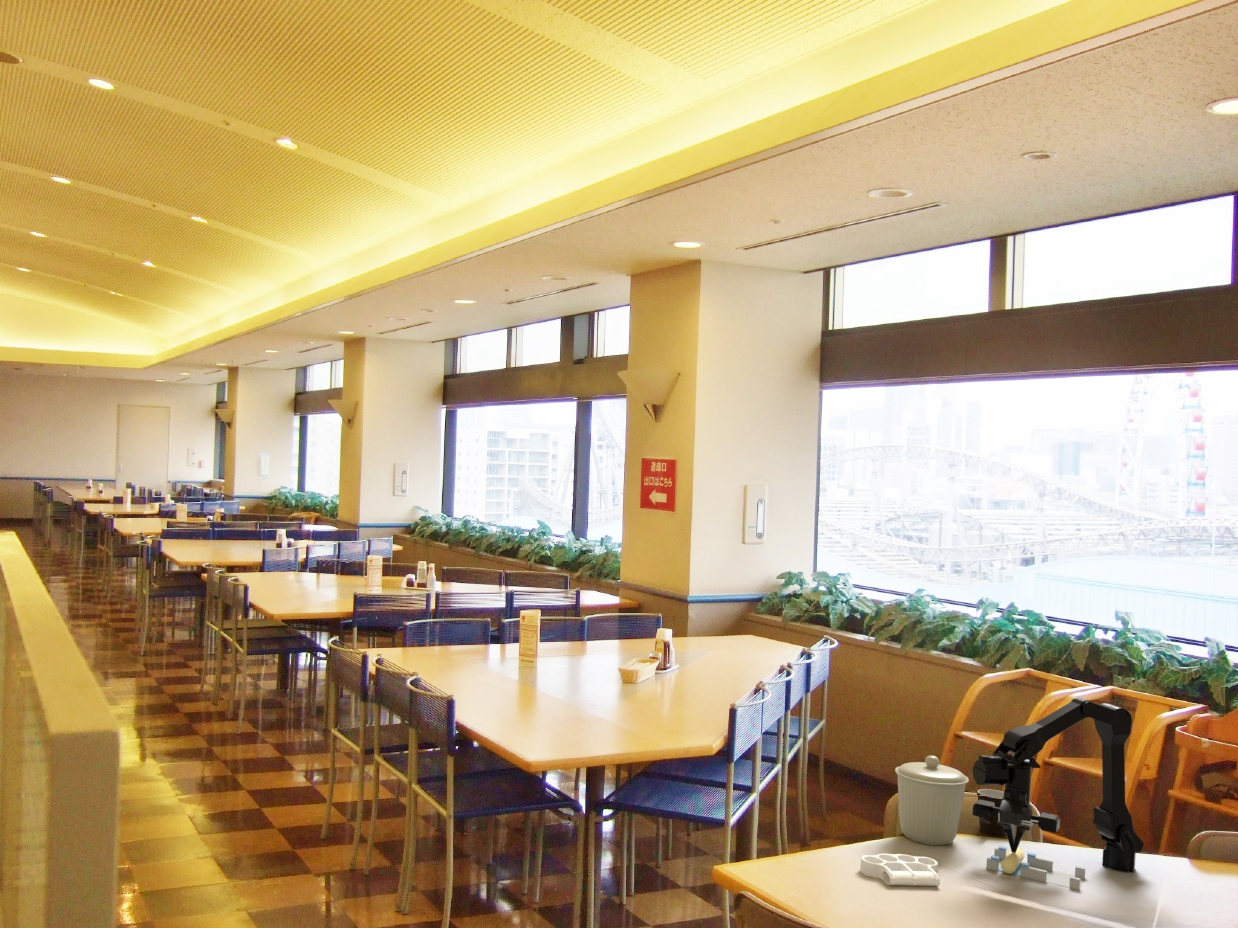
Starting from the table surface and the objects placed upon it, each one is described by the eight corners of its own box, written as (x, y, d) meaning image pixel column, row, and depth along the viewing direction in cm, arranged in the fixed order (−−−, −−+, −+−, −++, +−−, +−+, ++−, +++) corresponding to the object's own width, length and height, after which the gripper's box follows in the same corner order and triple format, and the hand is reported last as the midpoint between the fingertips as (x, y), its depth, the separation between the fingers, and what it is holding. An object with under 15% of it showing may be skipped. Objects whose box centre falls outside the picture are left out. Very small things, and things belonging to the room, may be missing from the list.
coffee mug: (1012, 838, 269) (1014, 800, 270) (977, 834, 271) (980, 795, 272) (1005, 825, 281) (1007, 788, 281) (971, 821, 283) (973, 784, 283)
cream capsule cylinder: (1010, 859, 249) (1010, 845, 250) (1024, 861, 248) (1024, 848, 248) (999, 873, 239) (999, 859, 239) (1014, 876, 237) (1014, 862, 237)
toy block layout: (1084, 881, 240) (1085, 864, 241) (1078, 894, 232) (1079, 877, 232) (995, 860, 251) (996, 844, 251) (985, 872, 242) (986, 855, 242)
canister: (980, 846, 262) (985, 762, 262) (931, 854, 252) (936, 767, 253) (924, 824, 277) (929, 744, 278) (876, 831, 267) (881, 749, 268)
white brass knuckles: (876, 888, 228) (852, 864, 242) (953, 890, 230) (925, 866, 244) (876, 873, 228) (852, 850, 242) (954, 874, 230) (925, 852, 245)
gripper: (969, 784, 243) (965, 851, 242) (1054, 801, 233) (1050, 871, 232) (979, 775, 252) (975, 839, 252) (1062, 790, 242) (1058, 858, 242)
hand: (1013, 852), depth 244 cm, fingers closed
